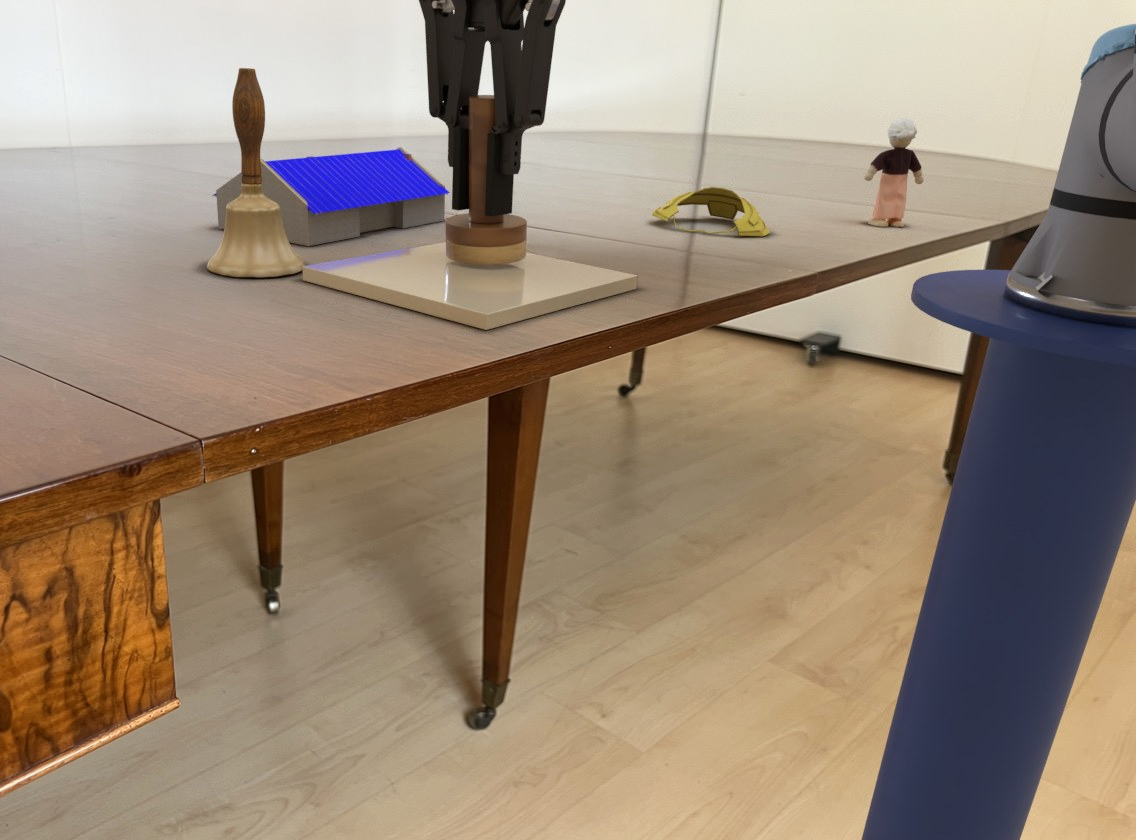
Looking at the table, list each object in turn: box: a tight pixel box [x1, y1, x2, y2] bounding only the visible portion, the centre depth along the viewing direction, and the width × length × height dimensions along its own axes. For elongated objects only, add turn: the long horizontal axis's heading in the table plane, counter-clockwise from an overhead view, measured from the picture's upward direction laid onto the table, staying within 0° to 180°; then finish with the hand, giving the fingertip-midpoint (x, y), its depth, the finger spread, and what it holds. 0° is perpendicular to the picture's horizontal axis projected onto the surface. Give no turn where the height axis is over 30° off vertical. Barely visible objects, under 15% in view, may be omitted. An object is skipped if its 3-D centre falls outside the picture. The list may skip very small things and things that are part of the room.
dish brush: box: [445, 94, 528, 265], centre depth 84 cm, size 7×7×13 cm
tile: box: [302, 241, 638, 331], centre depth 84 cm, size 20×20×1 cm
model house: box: [212, 146, 451, 247], centre depth 105 cm, size 22×14×7 cm, turn 146°
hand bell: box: [206, 67, 307, 278], centre depth 83 cm, size 8×8×16 cm
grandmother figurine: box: [863, 117, 925, 228], centre depth 122 cm, size 8×4×13 cm, turn 111°
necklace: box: [651, 186, 771, 237], centre depth 116 cm, size 13×12×4 cm
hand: (481, 210), depth 85 cm, fingers closed on dish brush, 3 cm apart
